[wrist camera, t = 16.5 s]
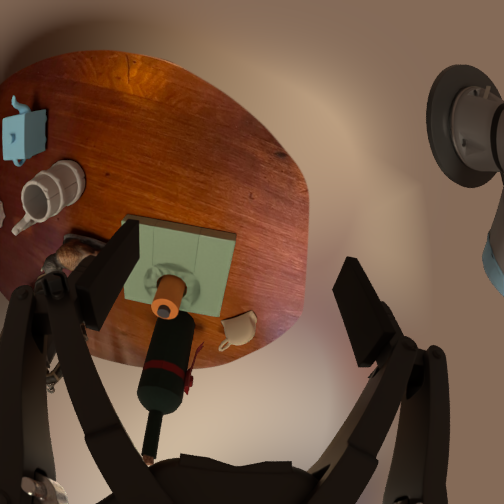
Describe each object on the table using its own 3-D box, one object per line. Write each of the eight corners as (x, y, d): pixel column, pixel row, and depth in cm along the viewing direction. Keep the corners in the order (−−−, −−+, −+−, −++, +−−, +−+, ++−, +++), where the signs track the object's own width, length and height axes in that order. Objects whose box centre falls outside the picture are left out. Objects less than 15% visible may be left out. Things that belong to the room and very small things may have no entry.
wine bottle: (204, 339, 55) (190, 475, 30) (158, 331, 54) (126, 462, 28) (208, 313, 51) (191, 466, 26) (157, 304, 50) (115, 450, 24)
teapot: (27, 94, 27) (-1, 99, 21) (50, 89, 28) (21, 92, 21) (26, 158, 33) (0, 171, 27) (48, 157, 34) (21, 170, 27)
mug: (95, 181, 37) (53, 211, 27) (61, 222, 40) (24, 257, 30) (68, 148, 34) (21, 169, 23) (38, 193, 37) (-3, 222, 27)
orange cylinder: (187, 271, 46) (177, 306, 38) (185, 290, 48) (176, 326, 41) (163, 266, 45) (149, 300, 38) (162, 286, 48) (149, 320, 40)
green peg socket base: (236, 233, 43) (235, 241, 40) (219, 308, 51) (218, 317, 49) (127, 214, 40) (121, 220, 38) (128, 290, 48) (124, 299, 46)
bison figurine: (123, 240, 43) (99, 275, 34) (121, 272, 46) (100, 309, 37) (67, 223, 40) (37, 252, 32) (68, 255, 44) (42, 286, 35)
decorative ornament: (260, 323, 53) (262, 343, 48) (223, 334, 54) (222, 354, 50) (252, 309, 51) (253, 330, 46) (214, 322, 53) (211, 342, 48)
